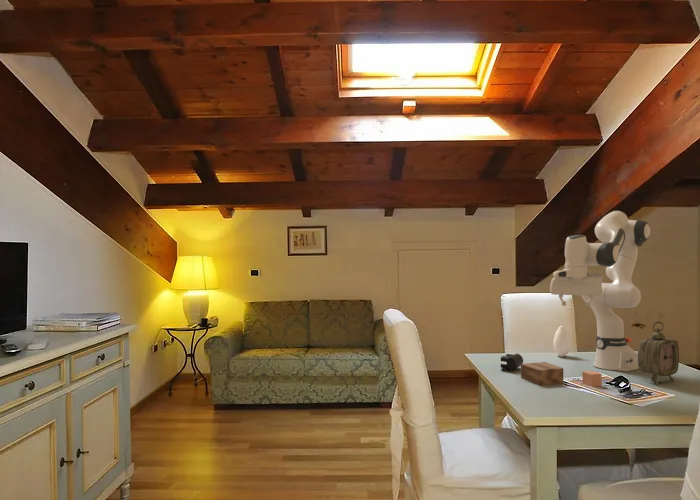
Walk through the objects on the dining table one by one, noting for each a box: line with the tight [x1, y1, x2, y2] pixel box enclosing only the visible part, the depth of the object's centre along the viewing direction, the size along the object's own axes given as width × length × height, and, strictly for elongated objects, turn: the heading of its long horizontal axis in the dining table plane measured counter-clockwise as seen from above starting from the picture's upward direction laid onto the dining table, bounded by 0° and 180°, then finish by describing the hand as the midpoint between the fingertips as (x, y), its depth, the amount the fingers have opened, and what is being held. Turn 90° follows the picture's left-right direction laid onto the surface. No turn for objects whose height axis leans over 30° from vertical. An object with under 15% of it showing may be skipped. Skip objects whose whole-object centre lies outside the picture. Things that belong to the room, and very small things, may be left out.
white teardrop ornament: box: [553, 321, 571, 358], centre depth 261 cm, size 8×8×18 cm
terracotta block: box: [581, 370, 603, 387], centre depth 209 cm, size 5×5×5 cm
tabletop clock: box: [637, 321, 680, 385], centre depth 212 cm, size 14×9×25 cm, turn 117°
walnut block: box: [520, 361, 564, 386], centre depth 216 cm, size 12×12×6 cm
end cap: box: [500, 353, 524, 373], centre depth 235 cm, size 10×7×7 cm
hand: (575, 305), depth 216 cm, fingers open, 8 cm apart
